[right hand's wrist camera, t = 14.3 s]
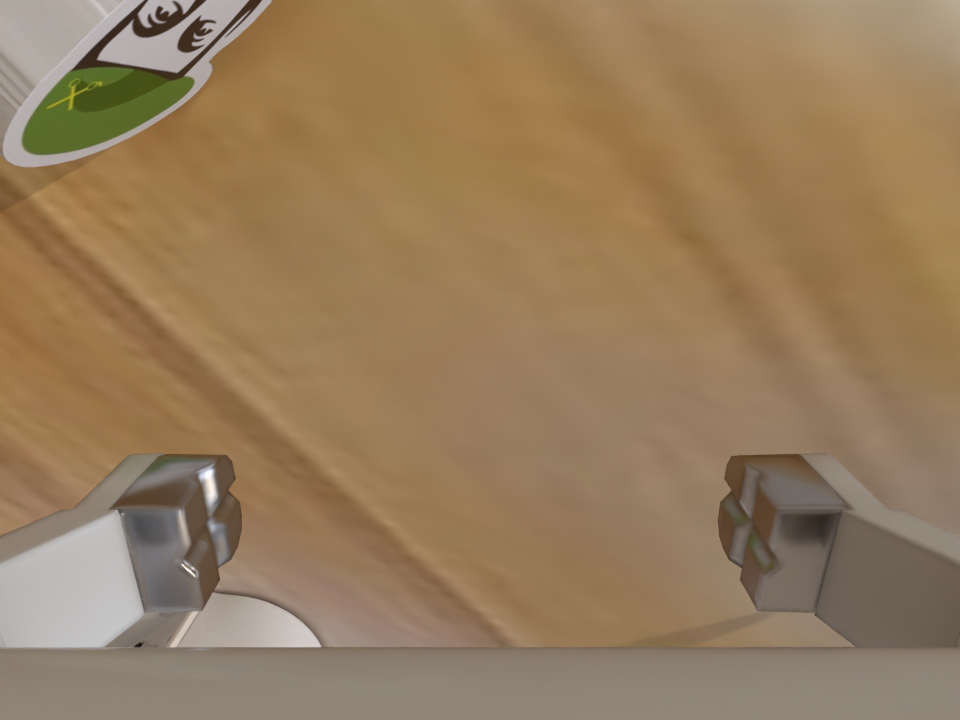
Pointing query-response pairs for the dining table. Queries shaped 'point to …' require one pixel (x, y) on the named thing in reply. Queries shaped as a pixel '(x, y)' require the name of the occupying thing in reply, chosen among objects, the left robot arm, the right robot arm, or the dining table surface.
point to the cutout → (103, 69)
